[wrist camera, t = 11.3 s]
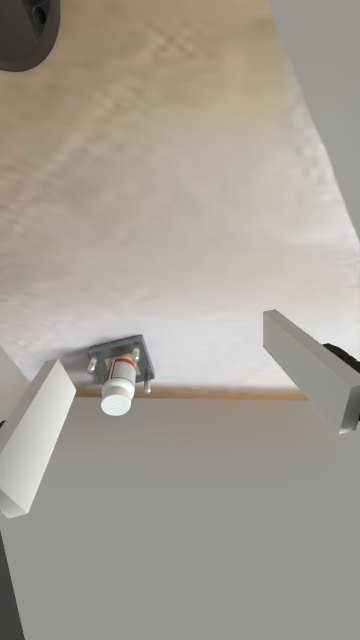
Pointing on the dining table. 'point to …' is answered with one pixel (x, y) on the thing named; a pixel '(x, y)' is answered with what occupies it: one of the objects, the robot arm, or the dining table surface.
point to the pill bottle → (118, 386)
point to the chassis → (126, 348)
